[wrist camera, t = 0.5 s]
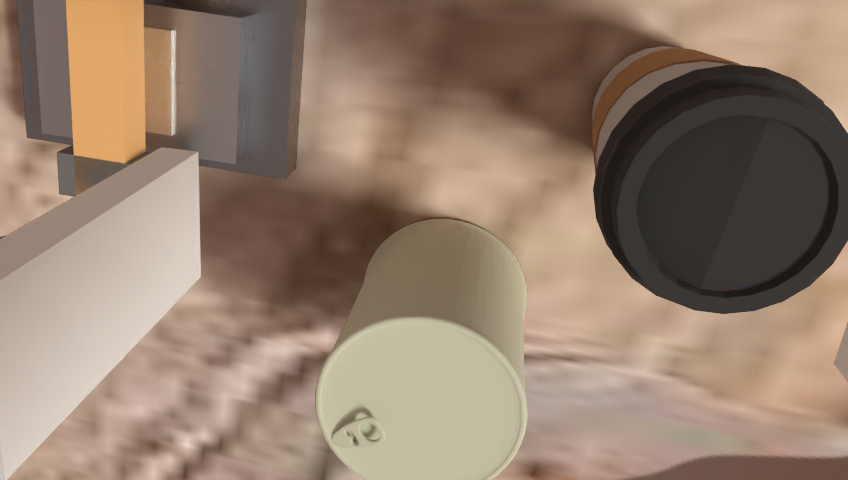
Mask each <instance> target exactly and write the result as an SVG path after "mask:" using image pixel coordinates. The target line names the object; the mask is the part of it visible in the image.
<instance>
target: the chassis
mask: <svg viewBox="0 0 848 480" xmlns="http://www.w3.org/2000/svg"><path fill="white" fill-rule="evenodd" d="M306 3H307V0H144V70H145V143H146V152H150V153H152V152H154V151H156V150H157V149H159V148H161V147H164V148H172V149H180V150H188V151H196V152H198V160H199V166H205V167H211V168H217V169H224V170H230V171H236V172H242V173H248V174H254V175H261V176H267V177H273V178H279V179H286V178H287V177H288V176H289V175H290V174H291V173H292V172H293V171H294V170H295V169H296V155H297V140H298V125H299V109H300V94H301V79H302V64H303V48H304V33H305V18H306ZM17 12H18V25H19V38H20V52H21V65H22V78H23V91H24V105H25V118H26V131H27V138H32V139H38V140H44V141H50V142H57V143H63V144H69V145H73V130H72V110H71V91H70V71H69V52H68V33H67V13H66V0H17Z"/></svg>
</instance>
